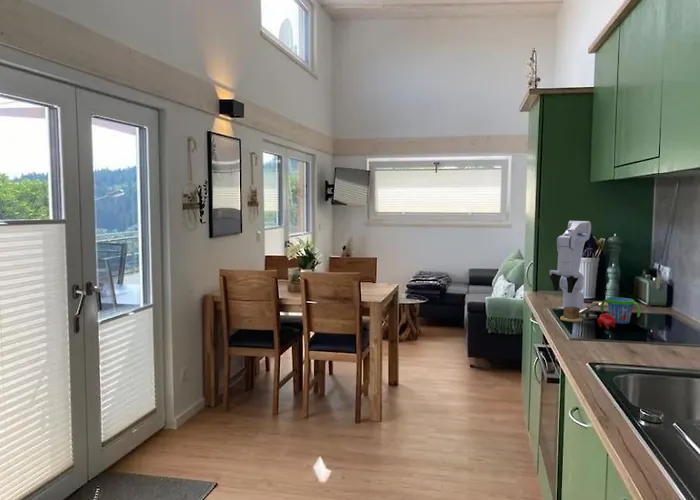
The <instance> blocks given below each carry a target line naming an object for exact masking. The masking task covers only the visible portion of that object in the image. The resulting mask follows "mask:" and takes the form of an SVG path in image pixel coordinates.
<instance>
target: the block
mask: <svg viewBox="0 0 700 500" xmlns="http://www.w3.org/2000/svg"><path fill="white" fill-rule="evenodd" d="M579 312H580V308H577V307H572V306H570V307H564V309H563V316H564V318H569V319H578V318H579Z"/></svg>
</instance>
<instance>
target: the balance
mask: <svg viewBox="0 0 700 500" xmlns="http://www.w3.org/2000/svg"><path fill="white" fill-rule="evenodd" d="M602 302H603V301H593V302H591V304H590V305H586V306H585V307H583V308H584V309H582V310H580V312H579V318H578V319H569V318H564V315H561V316H560V318H559V319H560V321H563V322H568V323H582V322H583V320H592V319H593V320H594V319H598V315H597V314H592V313H590V309H592V308H593V307H600V308H601V304H602ZM603 308H608V303H607V301H605V303H604V304H603Z"/></svg>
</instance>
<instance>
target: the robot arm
mask: <svg viewBox="0 0 700 500" xmlns="http://www.w3.org/2000/svg"><path fill="white" fill-rule="evenodd" d="M591 232H592V222H590V220H569V221H568V224H567V229H566V230H565V232H564V233H563V234H561V235H559V236H558V237H557V239H556V247H557V248H556V251H557V252H558V253H557V269H556V270H555V269H550V270H549V278H550V280H551V284H552V286H553V291H554V292H557V291H559V289H560V290H562V306H559V307H558V309H560V310H564V307H570V306H572V307H577V308H580V310H582V309H584V308H585V307H584V302H585V301H584V299H585V298H584V297H585V296H584V292H582V291H583V289H584V281H585V278H584V275H583V274H582V273H581V272H580V268H581V262H582V257H583V252H584V246H585V243H586V242H587V241H588V240H590V237H591V234H592V233H591Z"/></svg>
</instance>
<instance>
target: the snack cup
mask: <svg viewBox="0 0 700 500" xmlns="http://www.w3.org/2000/svg"><path fill="white" fill-rule="evenodd" d="M601 302H602V304H601V307H600V312H601V313H602V314H604V307H603V304H604V303H605V302H607V303H608V307H607V308H608V314H609V315H611V316H612V317H613V318H614V319H615V324H619V325H625V324H626V325H627V324H629V323H630V321H631V316H632V311H633V307H634V305H635V306H636V308H637V314H636V317H637V318H639V317H640V316H641V307H640V305H639V303H638V302H636V301H635V300H634V299H632V298H627V297H617V296H616V297H615V296H614V297H612V296H611V297H608V298H607V297H606V299H604V300H602V301H601Z"/></svg>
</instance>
